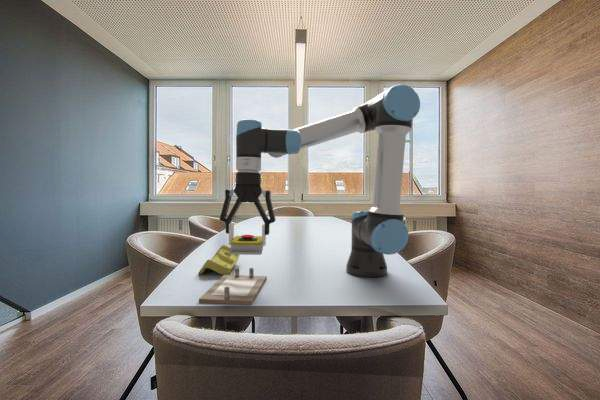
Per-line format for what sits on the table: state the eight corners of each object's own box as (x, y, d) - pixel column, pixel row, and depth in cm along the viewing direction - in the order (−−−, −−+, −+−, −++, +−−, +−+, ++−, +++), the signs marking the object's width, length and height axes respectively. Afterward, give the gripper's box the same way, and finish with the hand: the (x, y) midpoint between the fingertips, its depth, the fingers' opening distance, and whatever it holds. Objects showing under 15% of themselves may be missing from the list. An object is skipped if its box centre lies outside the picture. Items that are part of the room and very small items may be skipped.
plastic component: (230, 269, 113) (204, 257, 112) (221, 287, 114) (196, 275, 113) (242, 253, 132) (220, 242, 132) (234, 268, 133) (213, 258, 133)
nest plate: (224, 277, 111) (224, 266, 111) (266, 278, 110) (266, 267, 110) (198, 302, 88) (198, 288, 88) (252, 304, 87) (252, 290, 87)
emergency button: (229, 239, 90) (235, 231, 105) (228, 254, 90) (235, 244, 105) (261, 239, 91) (263, 231, 106) (261, 254, 91) (263, 244, 106)
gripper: (208, 170, 93) (207, 245, 95) (283, 172, 92) (281, 248, 93) (216, 171, 101) (216, 241, 102) (285, 173, 100) (284, 243, 101)
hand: (247, 244), depth 98 cm, fingers closed on emergency button, 9 cm apart
